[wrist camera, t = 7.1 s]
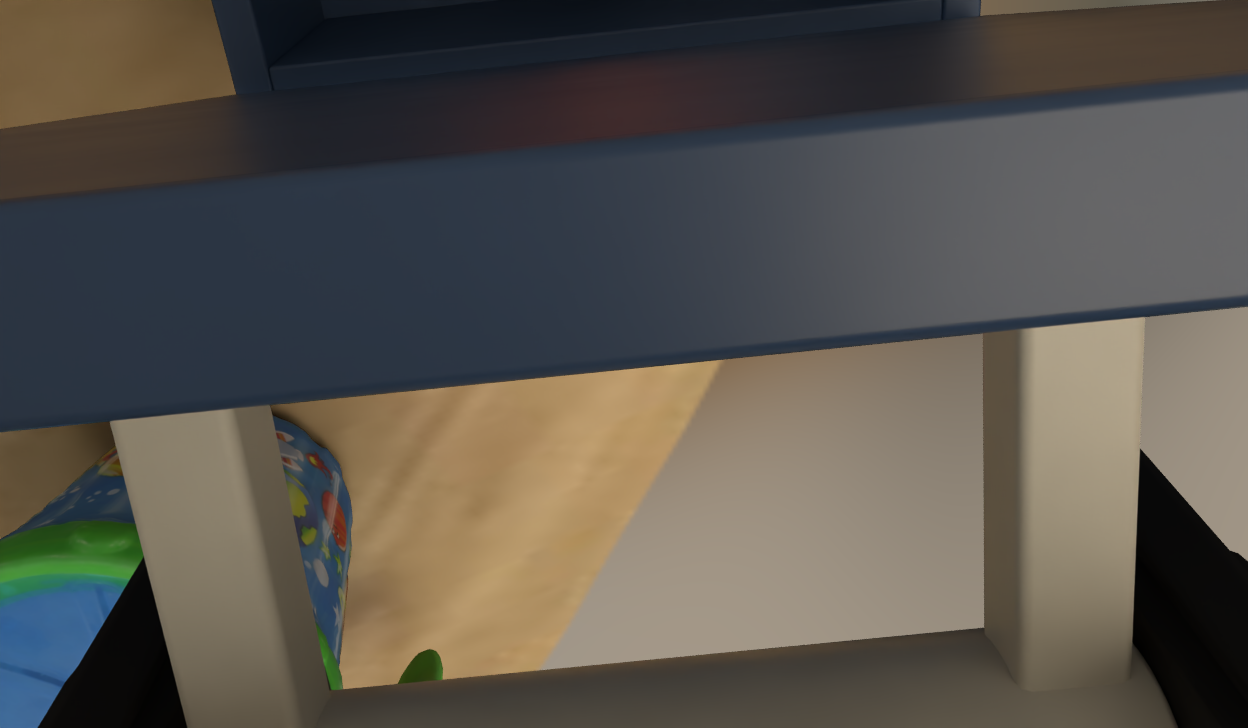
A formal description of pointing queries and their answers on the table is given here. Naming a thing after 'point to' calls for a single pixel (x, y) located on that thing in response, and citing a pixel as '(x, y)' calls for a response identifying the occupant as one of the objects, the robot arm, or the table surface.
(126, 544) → the snack cup
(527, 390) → the table surface
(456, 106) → the lid
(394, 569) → the table surface
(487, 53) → the dark blue open box
